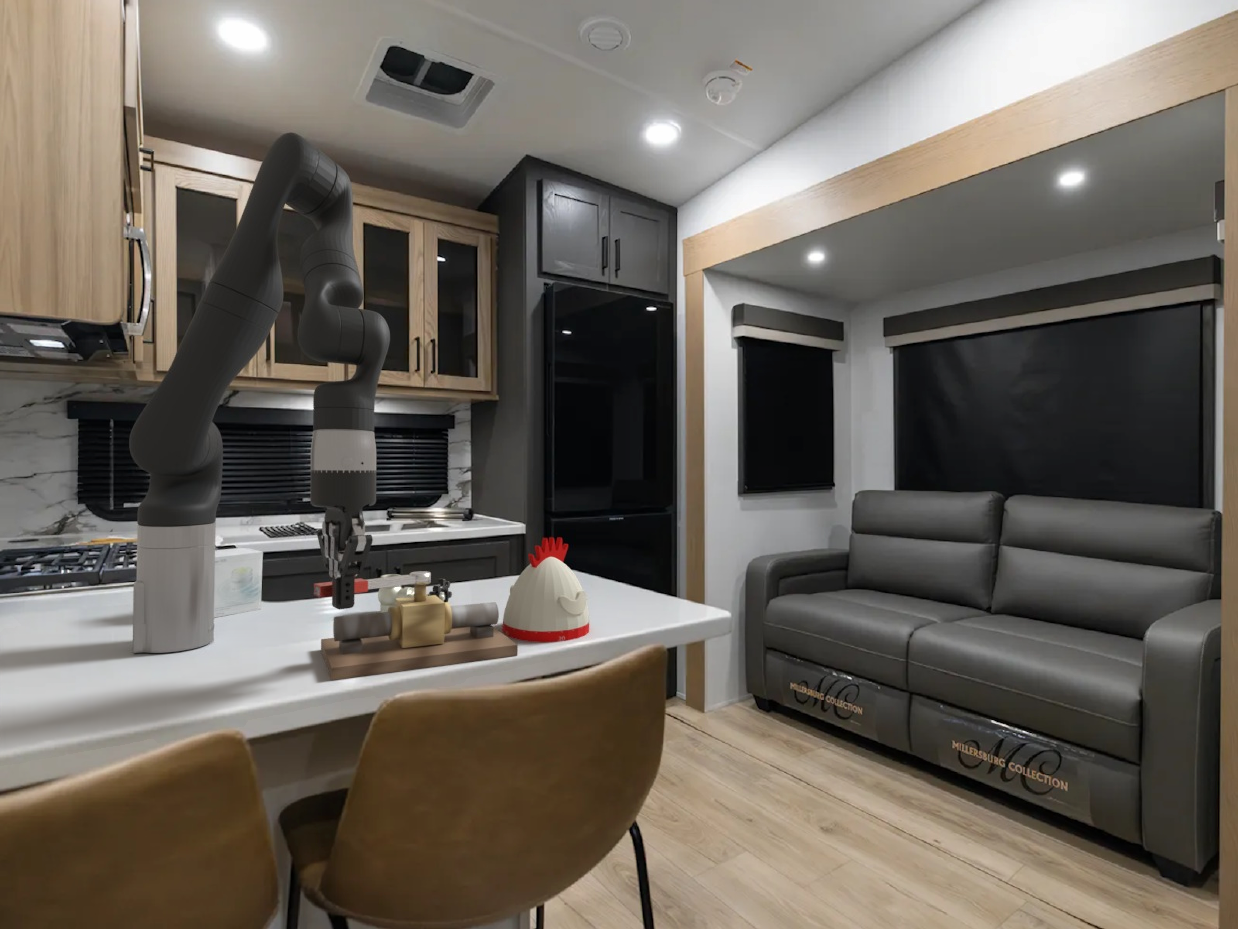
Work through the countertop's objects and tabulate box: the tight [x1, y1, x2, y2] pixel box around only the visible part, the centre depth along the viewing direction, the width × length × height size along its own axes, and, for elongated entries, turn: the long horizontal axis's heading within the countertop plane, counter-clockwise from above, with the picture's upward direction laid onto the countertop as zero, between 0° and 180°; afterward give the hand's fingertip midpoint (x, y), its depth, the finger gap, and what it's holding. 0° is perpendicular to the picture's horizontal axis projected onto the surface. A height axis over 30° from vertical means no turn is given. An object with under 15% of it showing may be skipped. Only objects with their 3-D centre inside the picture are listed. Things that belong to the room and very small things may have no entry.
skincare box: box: [214, 547, 264, 619], centre depth 112 cm, size 10×6×10 cm, turn 148°
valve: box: [377, 573, 453, 613], centre depth 114 cm, size 7×7×12 cm
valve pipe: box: [320, 584, 519, 681], centre depth 92 cm, size 24×14×10 cm, turn 119°
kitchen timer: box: [502, 536, 590, 643], centre depth 106 cm, size 14×14×15 cm
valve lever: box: [313, 570, 432, 599], centre depth 87 cm, size 15×3×1 cm, turn 135°
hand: (343, 607), depth 81 cm, fingers closed
